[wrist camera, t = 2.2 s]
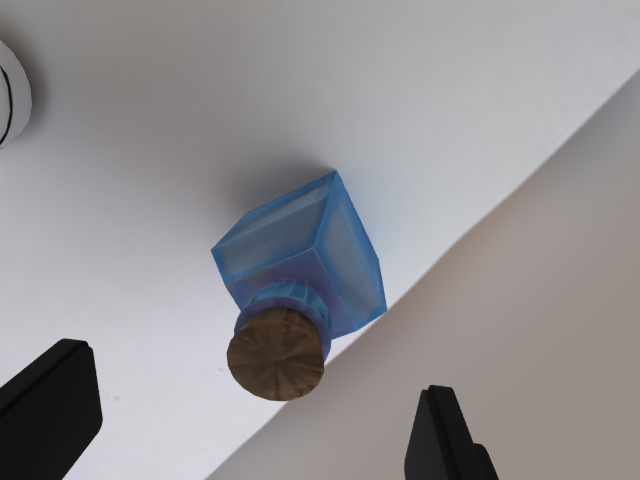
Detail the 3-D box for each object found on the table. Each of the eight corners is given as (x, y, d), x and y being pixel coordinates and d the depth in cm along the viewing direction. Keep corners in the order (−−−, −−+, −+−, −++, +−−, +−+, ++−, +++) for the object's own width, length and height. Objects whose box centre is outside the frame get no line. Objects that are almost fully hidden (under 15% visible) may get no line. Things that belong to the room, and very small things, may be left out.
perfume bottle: (292, 294, 24) (241, 454, 13) (246, 213, 23) (143, 318, 11) (378, 259, 23) (403, 405, 12) (336, 170, 21) (319, 242, 10)
